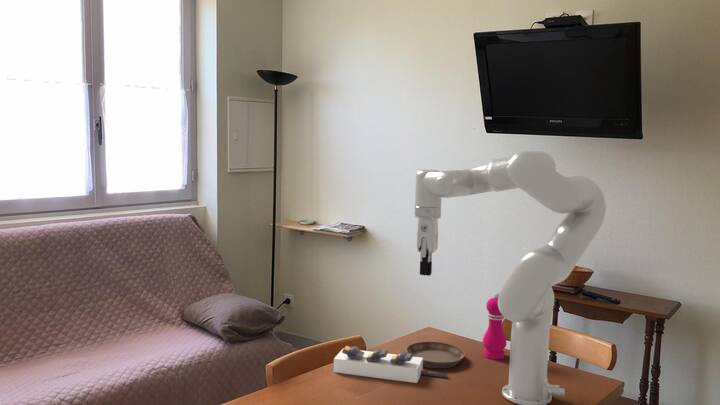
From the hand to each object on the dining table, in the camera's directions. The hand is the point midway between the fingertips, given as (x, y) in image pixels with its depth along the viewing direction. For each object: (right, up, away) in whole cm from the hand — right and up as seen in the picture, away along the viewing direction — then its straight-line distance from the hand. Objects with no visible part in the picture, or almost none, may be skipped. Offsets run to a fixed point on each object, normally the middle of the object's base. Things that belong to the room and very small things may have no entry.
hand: (425, 274), depth 179 cm
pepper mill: (+22, -27, +11) cm, 37 cm away
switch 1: (-21, -23, -4) cm, 32 cm away
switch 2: (-7, -24, -8) cm, 26 cm away
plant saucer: (+4, -27, +7) cm, 28 cm away
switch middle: (-14, -23, -6) cm, 28 cm away
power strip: (-10, -28, -5) cm, 30 cm away
